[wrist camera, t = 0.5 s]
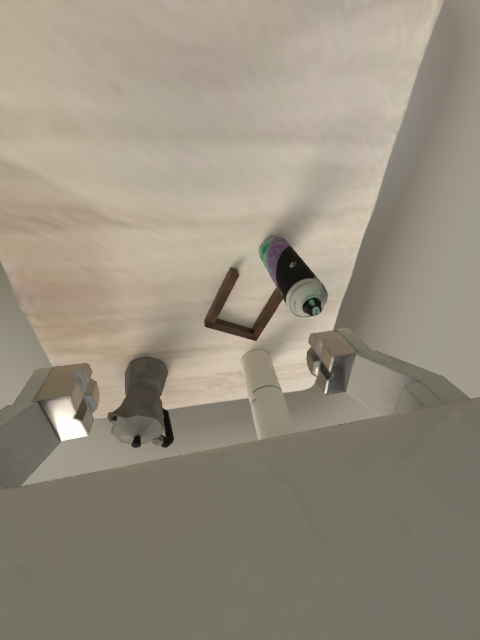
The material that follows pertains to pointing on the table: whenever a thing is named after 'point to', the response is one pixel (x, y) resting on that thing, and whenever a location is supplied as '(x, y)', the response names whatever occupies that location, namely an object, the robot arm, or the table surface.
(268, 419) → the cylindrical container
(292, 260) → the spray can
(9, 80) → the table surface
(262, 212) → the table surface
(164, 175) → the table surface
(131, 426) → the coffeepot
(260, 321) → the frame
